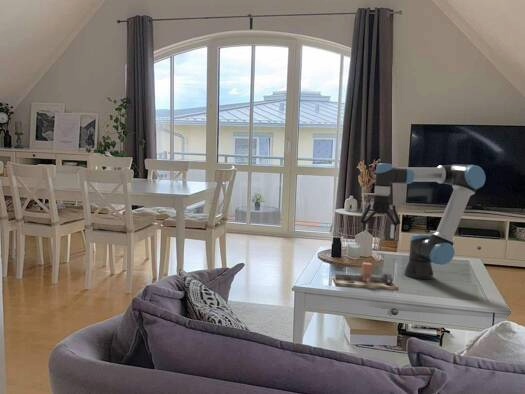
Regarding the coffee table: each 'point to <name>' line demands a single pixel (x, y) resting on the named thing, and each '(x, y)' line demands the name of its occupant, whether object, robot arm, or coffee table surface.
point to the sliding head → (366, 271)
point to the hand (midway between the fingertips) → (378, 237)
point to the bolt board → (365, 284)
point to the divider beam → (384, 277)
